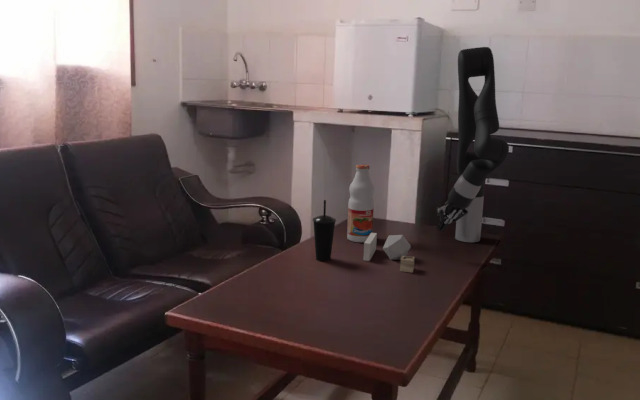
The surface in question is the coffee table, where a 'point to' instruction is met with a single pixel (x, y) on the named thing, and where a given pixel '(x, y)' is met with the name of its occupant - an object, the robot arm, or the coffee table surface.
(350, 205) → the fruit juice
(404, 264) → the letter block
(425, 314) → the coffee table surface
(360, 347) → the coffee table surface
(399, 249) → the die
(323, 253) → the drinking cup
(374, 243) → the rail
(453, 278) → the coffee table surface
